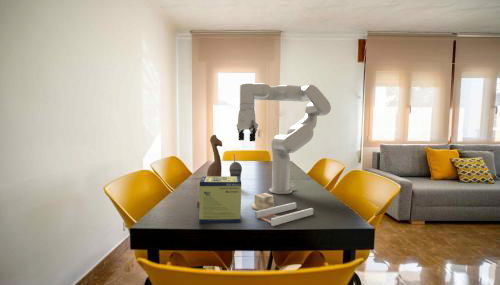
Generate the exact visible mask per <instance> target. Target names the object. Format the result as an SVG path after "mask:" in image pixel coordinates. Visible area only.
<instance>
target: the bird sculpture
mask: <svg viewBox="0 0 500 285" xmlns="http://www.w3.org/2000/svg"><path fill="white" fill-rule="evenodd" d="M209 142H210V145H211V148H212V154H213V161H212V162H211V164H209V166H208V167H207V170H206V171H207V172H206V177H207V176H208V177H222V171H223V170H222V159H221V156H220V152H219V149H218V147H223V142H222V140H221V139H219V138H218V137H217V135H216V134H213V135H212V136H210V140H209ZM196 202H197V203H196V205H197V207H199V200H197V201H196Z"/></svg>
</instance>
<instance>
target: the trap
mask: <svg viewBox="0 0 500 285" xmlns="http://www.w3.org/2000/svg"><path fill="white" fill-rule="evenodd" d="M279 216H280V215H276V214H271V215H267V216H263V217H259V218H258V219H260V220H263V221H265V222H266V223H269V224H271V218H275V217H279Z"/></svg>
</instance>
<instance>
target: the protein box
mask: <svg viewBox="0 0 500 285" xmlns="http://www.w3.org/2000/svg"><path fill="white" fill-rule="evenodd" d="M198 198H199V200H198V201H199V206H198V207H199V210H198V213H199V215H198V223H199V224H239V223H240V224H241V222H242V221H241V214H242V212H241V211H242V180H241V179H240V176H231V177H230V176H221V177H208V176H207V175H206V176H202V177H201V179H200V180H199V197H198Z"/></svg>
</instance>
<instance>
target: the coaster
mask: <svg viewBox="0 0 500 285" xmlns="http://www.w3.org/2000/svg"><path fill="white" fill-rule="evenodd" d="M250 206H251V207H250V208H252V209H253V210H255V211H259V210H264V209H268V208H272V207H275V205H274V204H273V206H272V207H267V208H261V207H258V206H256V205H255V202H254V203H252V204H251V205H250Z"/></svg>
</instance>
